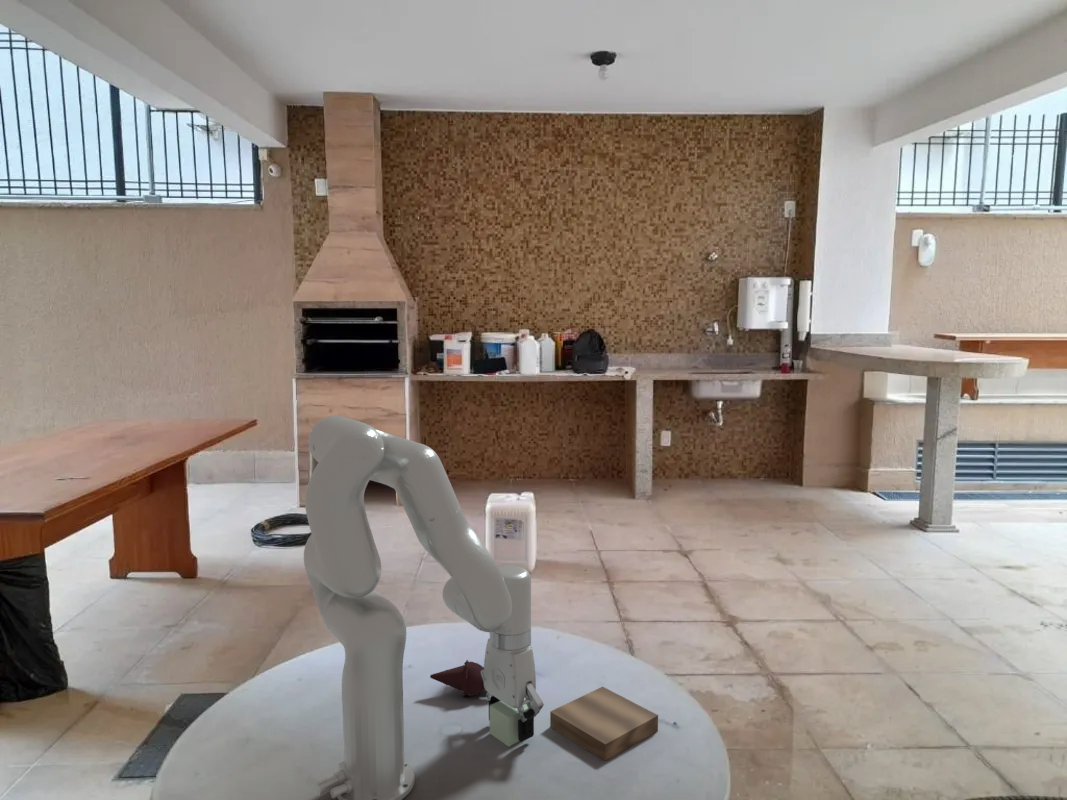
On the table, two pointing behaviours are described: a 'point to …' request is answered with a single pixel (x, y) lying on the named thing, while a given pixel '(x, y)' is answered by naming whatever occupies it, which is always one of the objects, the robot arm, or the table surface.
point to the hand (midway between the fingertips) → (510, 728)
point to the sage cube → (505, 722)
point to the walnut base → (604, 722)
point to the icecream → (463, 678)
